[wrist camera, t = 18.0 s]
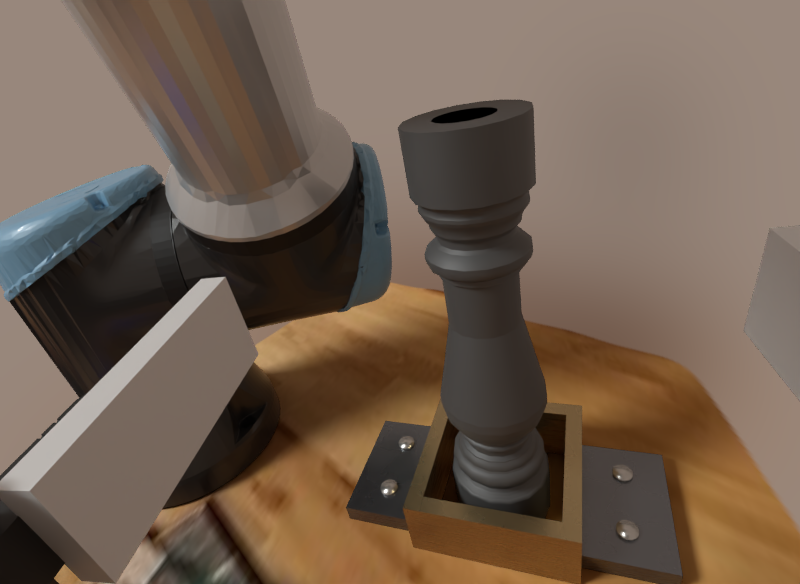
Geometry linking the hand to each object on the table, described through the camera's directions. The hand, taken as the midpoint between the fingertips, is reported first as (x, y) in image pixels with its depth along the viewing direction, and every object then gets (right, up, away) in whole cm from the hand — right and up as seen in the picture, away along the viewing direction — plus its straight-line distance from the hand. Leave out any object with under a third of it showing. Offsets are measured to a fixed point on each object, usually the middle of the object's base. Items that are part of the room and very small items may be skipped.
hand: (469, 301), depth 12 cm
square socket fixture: (+5, -14, +20) cm, 25 cm away
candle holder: (+5, -14, +20) cm, 25 cm away
